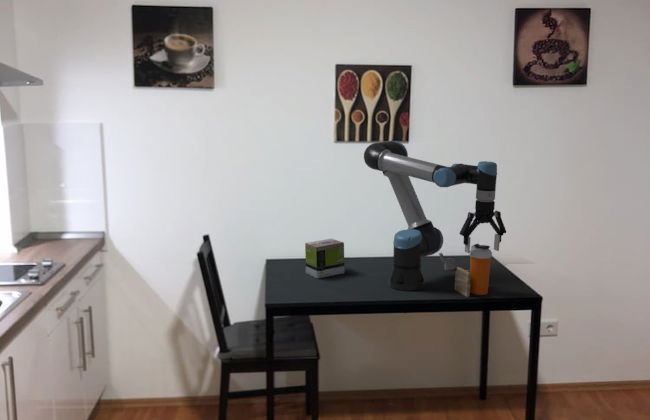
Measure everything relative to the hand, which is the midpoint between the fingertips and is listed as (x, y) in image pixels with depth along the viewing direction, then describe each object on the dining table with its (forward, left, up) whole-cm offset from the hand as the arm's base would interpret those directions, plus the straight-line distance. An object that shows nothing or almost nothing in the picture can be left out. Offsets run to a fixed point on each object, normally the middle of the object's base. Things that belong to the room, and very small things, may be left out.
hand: (481, 251), depth 263 cm
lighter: (+3, +34, -18) cm, 38 cm away
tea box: (-53, +44, -18) cm, 71 cm away
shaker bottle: (-1, 0, -18) cm, 18 cm away
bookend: (-1, +1, -17) cm, 18 cm away
